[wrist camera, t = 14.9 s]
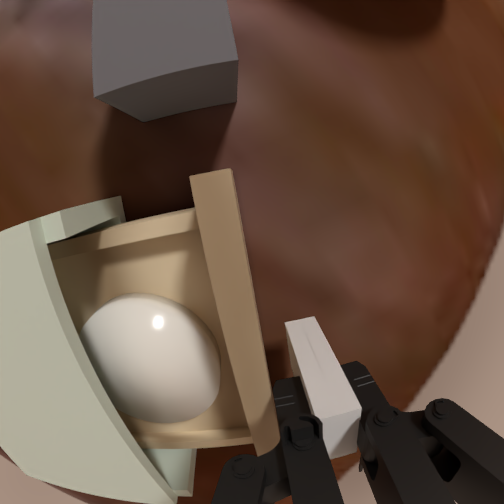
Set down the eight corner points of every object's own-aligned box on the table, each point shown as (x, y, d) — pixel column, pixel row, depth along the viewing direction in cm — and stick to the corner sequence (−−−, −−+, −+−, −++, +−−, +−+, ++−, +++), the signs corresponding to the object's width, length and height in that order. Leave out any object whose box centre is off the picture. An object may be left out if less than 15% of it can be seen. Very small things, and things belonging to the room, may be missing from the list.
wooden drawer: (100, 433, 19) (78, 488, 13) (9, 230, 14) (-58, 257, 8) (291, 422, 19) (307, 491, 13) (252, 167, 14) (264, 162, 8)
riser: (143, 122, 14) (94, 96, 8) (135, 45, 12) (93, -5, 7) (236, 101, 14) (238, 59, 8) (222, 24, 12) (218, -39, 7)
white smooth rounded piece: (122, 408, 16) (115, 424, 15) (68, 305, 14) (55, 317, 13) (236, 397, 16) (237, 415, 15) (197, 278, 14) (192, 291, 13)
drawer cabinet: (53, 425, 19) (26, 474, 12) (-30, 246, 14) (-90, 274, 8) (198, 432, 19) (191, 505, 13) (120, 195, 15) (47, 214, 8)
